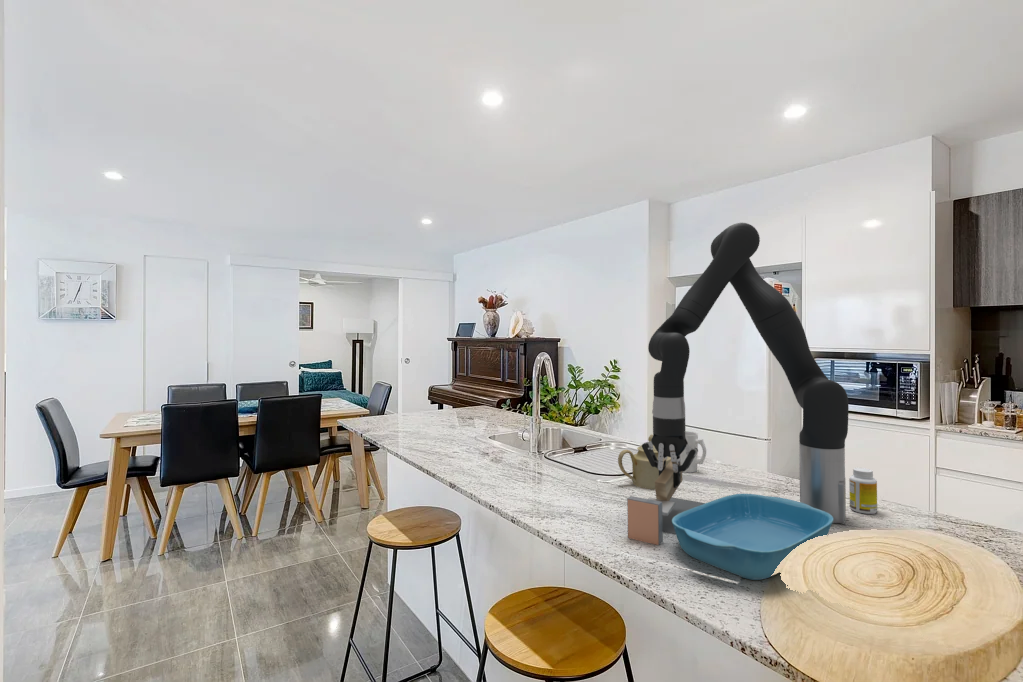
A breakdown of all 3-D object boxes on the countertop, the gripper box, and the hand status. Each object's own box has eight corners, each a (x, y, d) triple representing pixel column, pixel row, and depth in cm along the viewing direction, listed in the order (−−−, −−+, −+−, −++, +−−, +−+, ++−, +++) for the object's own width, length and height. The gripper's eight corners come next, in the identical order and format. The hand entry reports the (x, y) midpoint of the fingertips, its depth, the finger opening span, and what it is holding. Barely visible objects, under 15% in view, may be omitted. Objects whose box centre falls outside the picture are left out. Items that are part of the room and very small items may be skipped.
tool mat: (710, 506, 126) (710, 504, 126) (681, 538, 107) (681, 536, 107) (663, 497, 133) (663, 495, 133) (629, 526, 114) (629, 524, 114)
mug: (671, 469, 160) (671, 433, 160) (683, 466, 164) (683, 430, 164) (700, 476, 152) (700, 437, 152) (711, 472, 156) (711, 434, 156)
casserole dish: (744, 514, 121) (744, 485, 121) (849, 544, 103) (849, 510, 103) (651, 556, 99) (651, 521, 99) (764, 604, 81) (763, 561, 81)
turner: (689, 481, 122) (688, 462, 121) (667, 515, 109) (665, 495, 108) (665, 477, 126) (664, 459, 125) (641, 510, 112) (639, 490, 112)
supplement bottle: (882, 512, 120) (882, 470, 120) (868, 516, 118) (868, 473, 118) (858, 505, 125) (857, 465, 125) (844, 509, 123) (844, 468, 123)
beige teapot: (647, 496, 134) (646, 442, 134) (616, 487, 143) (615, 435, 143) (679, 486, 143) (679, 434, 143) (648, 477, 152) (647, 429, 152)
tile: (662, 543, 104) (662, 501, 104) (659, 547, 103) (658, 504, 102) (631, 536, 108) (630, 495, 108) (627, 539, 107) (626, 498, 106)
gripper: (702, 415, 118) (703, 486, 118) (646, 410, 126) (647, 477, 126) (693, 419, 112) (694, 495, 112) (635, 414, 120) (636, 485, 120)
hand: (669, 485), depth 119 cm, fingers closed on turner
